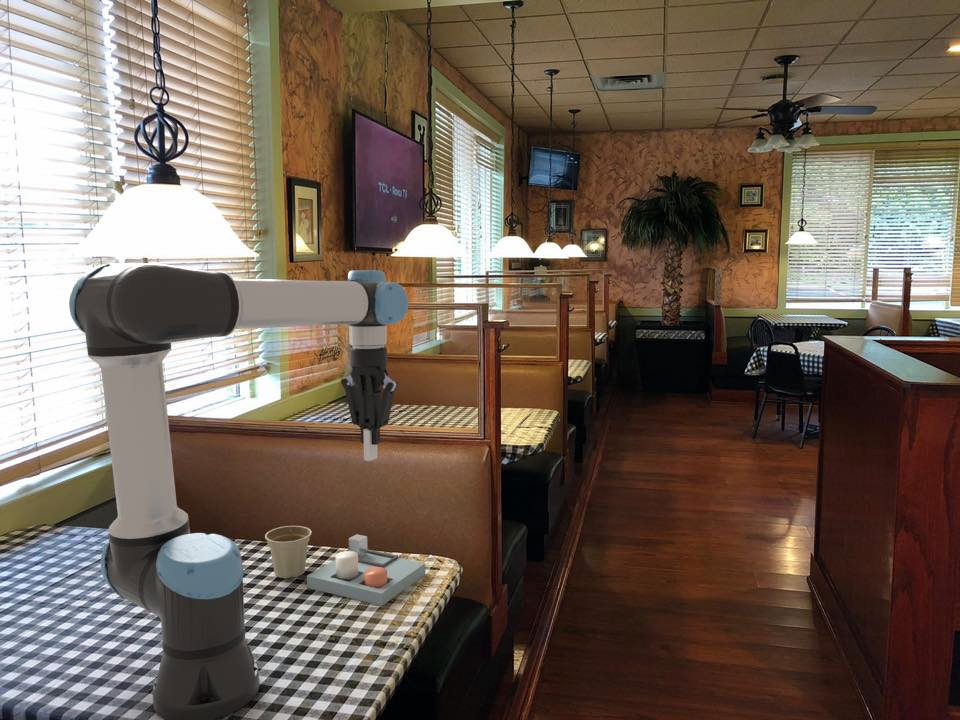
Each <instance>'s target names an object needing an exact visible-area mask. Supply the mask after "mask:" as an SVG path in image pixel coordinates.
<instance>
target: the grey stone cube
mask: <svg viewBox="0 0 960 720" xmlns="http://www.w3.org/2000/svg"><path fill="white" fill-rule="evenodd" d="M367 549H368V536H367V535H363V534H362V535H361V534H357V533H356V534H355V535H353V536H350V537H349V538H348V550H349V551H353V552H356V553H358V558H359V559H360V558H362V557H364V556H365V555H367V554H368V551H367Z"/></svg>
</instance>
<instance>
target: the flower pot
mask: <svg viewBox="0 0 960 720" xmlns="http://www.w3.org/2000/svg"><path fill="white" fill-rule="evenodd" d="M311 536H312V530H311V529H310V528H309V527H306V526H301V525H284V526H280V527H276V528H273V529H271V530H269V531H267V532H266V533H265V535H264V539H265V540H266V541H267V544H268V546H269V550H270V557H271V560H272V566H273V572H274V575H275V577H276V578H280V579H289V578H292V577H293V578H298V577H300V576H302V575H304V573H305V572H306V565H307V563H306V562H307V555H308V554H307V552H308V544H309V542H310V538H311Z"/></svg>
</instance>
